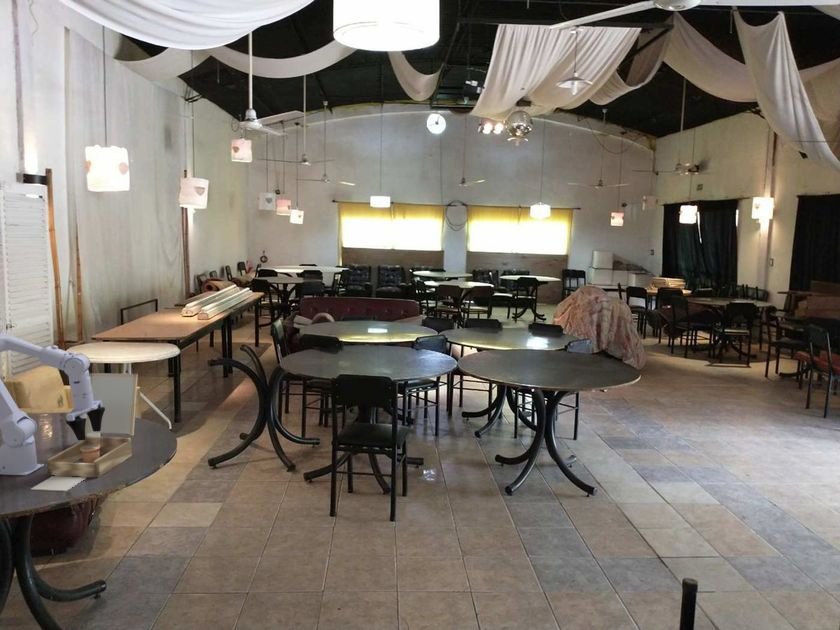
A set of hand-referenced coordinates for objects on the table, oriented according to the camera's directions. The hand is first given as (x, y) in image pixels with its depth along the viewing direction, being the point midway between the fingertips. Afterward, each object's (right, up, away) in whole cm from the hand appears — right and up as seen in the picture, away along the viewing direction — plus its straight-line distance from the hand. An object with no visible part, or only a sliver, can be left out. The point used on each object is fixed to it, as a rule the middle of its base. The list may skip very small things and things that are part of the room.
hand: (89, 435), depth 198 cm
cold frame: (0, -10, +2) cm, 10 cm away
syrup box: (-10, -7, +21) cm, 24 cm away
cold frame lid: (+1, +8, +11) cm, 14 cm away
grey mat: (-2, -12, -12) cm, 17 cm away
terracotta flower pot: (0, -10, +2) cm, 10 cm away
